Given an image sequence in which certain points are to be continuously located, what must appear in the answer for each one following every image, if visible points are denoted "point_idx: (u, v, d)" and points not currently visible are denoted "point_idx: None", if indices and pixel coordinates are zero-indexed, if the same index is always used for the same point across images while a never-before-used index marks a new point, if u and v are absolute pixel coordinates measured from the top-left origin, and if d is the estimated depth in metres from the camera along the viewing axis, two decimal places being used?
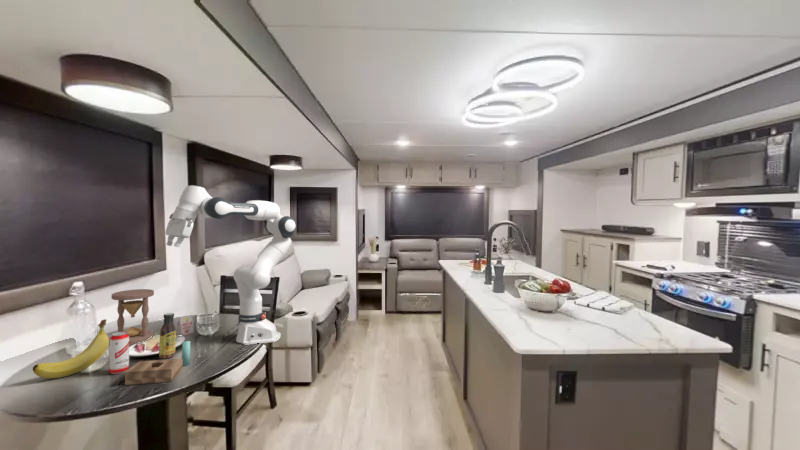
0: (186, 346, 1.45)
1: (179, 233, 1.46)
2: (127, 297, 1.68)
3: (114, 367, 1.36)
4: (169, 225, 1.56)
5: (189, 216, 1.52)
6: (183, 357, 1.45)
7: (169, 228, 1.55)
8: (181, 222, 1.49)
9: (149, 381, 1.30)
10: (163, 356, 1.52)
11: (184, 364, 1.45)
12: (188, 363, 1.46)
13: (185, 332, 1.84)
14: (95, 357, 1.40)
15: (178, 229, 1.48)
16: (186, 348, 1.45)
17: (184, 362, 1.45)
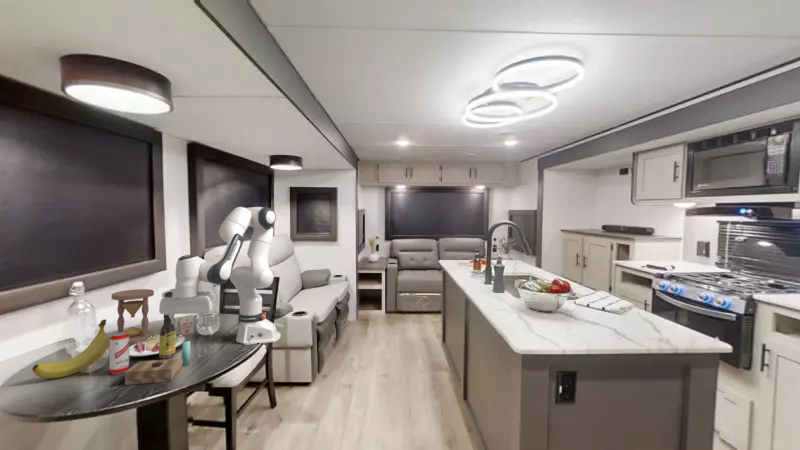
0: (186, 346, 1.45)
1: (204, 310, 1.46)
2: (127, 297, 1.68)
3: (114, 367, 1.36)
4: (164, 304, 1.43)
5: (198, 290, 1.48)
6: (183, 357, 1.45)
7: (167, 307, 1.43)
8: (197, 299, 1.46)
9: (149, 381, 1.30)
10: (163, 356, 1.52)
11: (184, 364, 1.45)
12: (188, 363, 1.46)
13: (185, 332, 1.84)
14: (95, 357, 1.40)
15: (197, 307, 1.46)
16: (186, 348, 1.45)
17: (184, 362, 1.45)
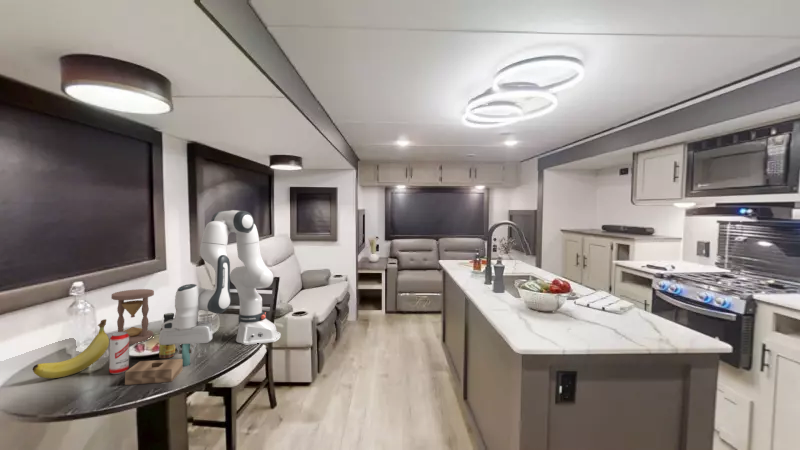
0: (186, 346, 1.45)
1: (203, 340, 1.46)
2: (127, 297, 1.68)
3: (114, 367, 1.36)
4: (164, 335, 1.43)
5: (197, 319, 1.48)
6: (183, 357, 1.45)
7: (167, 338, 1.43)
8: (197, 329, 1.46)
9: (149, 381, 1.30)
10: (163, 356, 1.52)
11: (184, 364, 1.45)
12: (188, 363, 1.46)
13: None
14: (95, 357, 1.40)
15: (197, 337, 1.46)
16: (186, 348, 1.45)
17: (184, 362, 1.45)
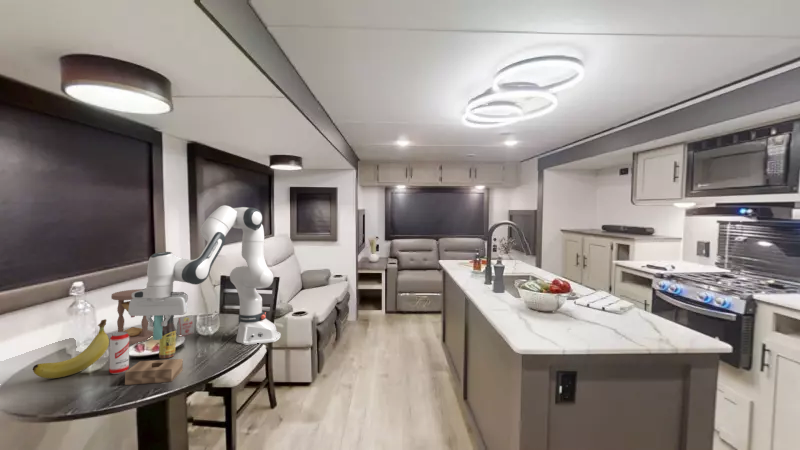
0: (158, 318, 1.34)
1: (177, 312, 1.35)
2: (127, 297, 1.68)
3: (114, 367, 1.36)
4: (134, 305, 1.32)
5: (172, 290, 1.37)
6: (154, 330, 1.34)
7: (137, 308, 1.32)
8: (170, 300, 1.35)
9: (149, 381, 1.30)
10: (163, 356, 1.52)
11: (155, 338, 1.34)
12: (160, 337, 1.35)
13: (185, 332, 1.84)
14: (95, 357, 1.40)
15: (170, 308, 1.35)
16: (158, 320, 1.34)
17: (155, 335, 1.34)
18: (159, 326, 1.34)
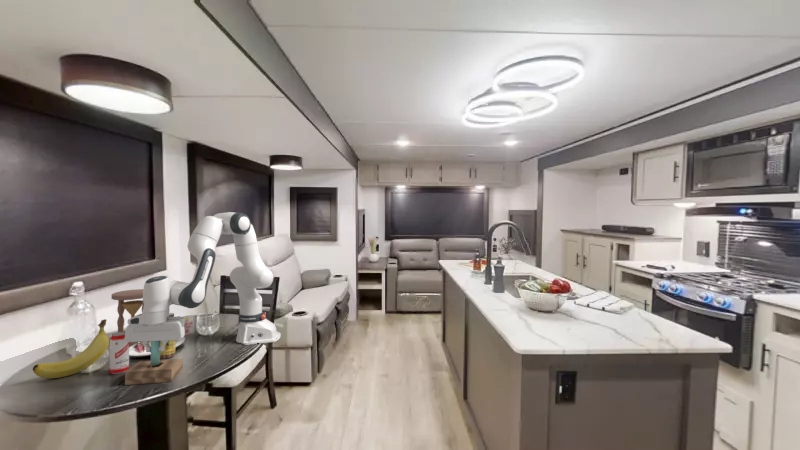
0: (155, 344, 1.33)
1: (174, 337, 1.34)
2: (127, 297, 1.68)
3: (114, 367, 1.36)
4: (130, 331, 1.31)
5: (168, 314, 1.36)
6: (152, 355, 1.33)
7: (134, 334, 1.31)
8: (167, 325, 1.34)
9: (149, 381, 1.30)
10: (163, 356, 1.52)
11: (153, 363, 1.33)
12: (157, 362, 1.34)
13: (185, 332, 1.84)
14: (95, 357, 1.40)
15: (167, 333, 1.34)
16: (155, 345, 1.33)
17: (153, 361, 1.33)
18: (156, 351, 1.33)
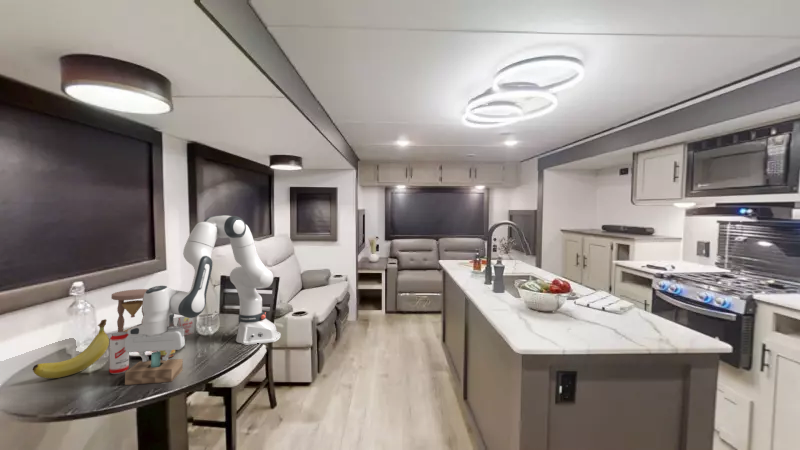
0: (155, 357, 1.33)
1: (174, 347, 1.34)
2: (127, 297, 1.68)
3: (114, 367, 1.36)
4: (130, 341, 1.31)
5: (168, 324, 1.36)
6: None
7: (134, 344, 1.31)
8: (167, 335, 1.34)
9: (149, 381, 1.30)
10: None
11: None
12: None
13: (185, 332, 1.84)
14: (95, 357, 1.40)
15: (167, 343, 1.34)
16: (155, 359, 1.33)
17: None
18: (157, 365, 1.34)
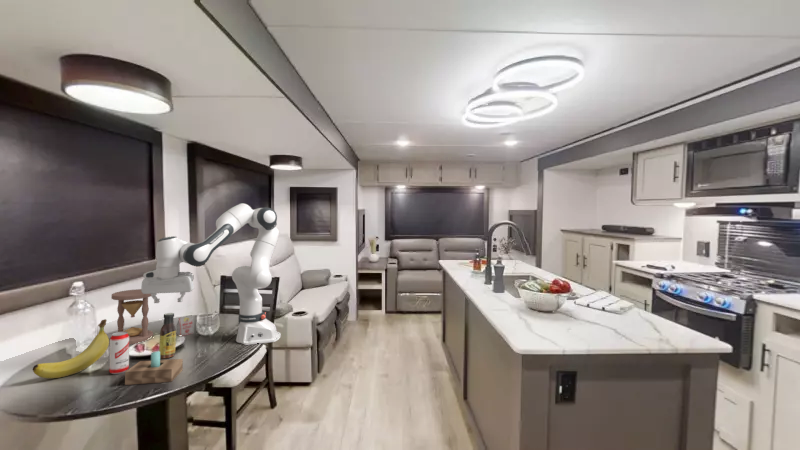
0: (155, 357, 1.33)
1: (185, 290, 1.52)
2: (127, 297, 1.68)
3: (114, 367, 1.36)
4: (146, 284, 1.48)
5: (179, 270, 1.53)
6: None
7: (149, 287, 1.49)
8: (178, 279, 1.51)
9: (149, 381, 1.30)
10: (163, 356, 1.52)
11: None
12: None
13: (185, 332, 1.84)
14: (95, 357, 1.40)
15: (178, 286, 1.51)
16: (155, 359, 1.33)
17: None
18: (156, 365, 1.34)
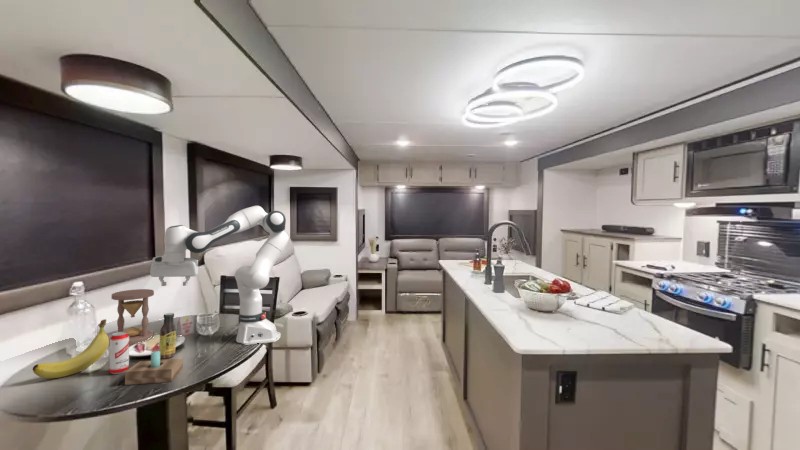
0: (155, 357, 1.33)
1: (190, 274, 1.65)
2: (127, 297, 1.68)
3: (114, 367, 1.36)
4: (155, 267, 1.62)
5: (185, 256, 1.66)
6: None
7: (157, 270, 1.62)
8: (184, 264, 1.64)
9: (149, 381, 1.30)
10: (163, 356, 1.52)
11: None
12: None
13: (185, 332, 1.84)
14: (95, 357, 1.40)
15: (184, 271, 1.64)
16: (155, 359, 1.33)
17: None
18: (156, 365, 1.34)
